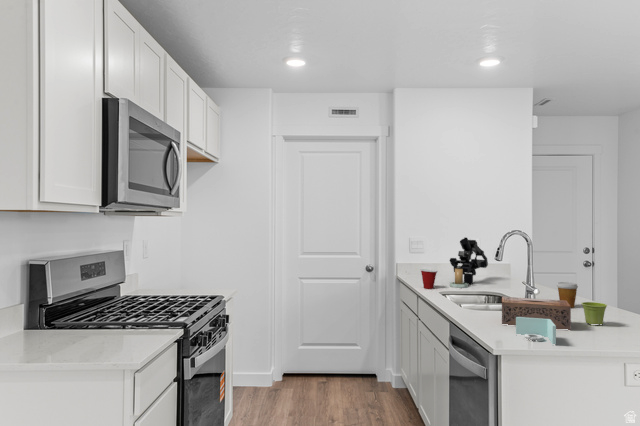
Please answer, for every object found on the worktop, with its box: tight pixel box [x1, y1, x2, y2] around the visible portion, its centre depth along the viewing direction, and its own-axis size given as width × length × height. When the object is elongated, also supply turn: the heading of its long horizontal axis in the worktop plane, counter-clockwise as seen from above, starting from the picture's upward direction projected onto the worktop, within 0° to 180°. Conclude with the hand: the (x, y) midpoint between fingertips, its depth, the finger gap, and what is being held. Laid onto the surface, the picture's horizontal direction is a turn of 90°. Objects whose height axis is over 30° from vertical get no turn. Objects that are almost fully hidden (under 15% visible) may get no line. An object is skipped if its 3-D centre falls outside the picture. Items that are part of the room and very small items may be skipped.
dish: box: [449, 281, 469, 289], centre depth 309 cm, size 11×11×2 cm
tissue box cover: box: [501, 296, 572, 331], centre depth 200 cm, size 26×14×10 cm, turn 69°
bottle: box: [454, 265, 464, 284], centre depth 309 cm, size 5×5×13 cm
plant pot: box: [581, 301, 608, 325], centre depth 200 cm, size 9×9×9 cm
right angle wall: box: [515, 317, 557, 345], centre depth 174 cm, size 12×12×8 cm
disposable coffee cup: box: [556, 281, 579, 309], centre depth 239 cm, size 10×10×12 cm
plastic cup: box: [420, 268, 438, 290], centre depth 300 cm, size 11×11×12 cm
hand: (460, 272), depth 312 cm, fingers open, 9 cm apart
